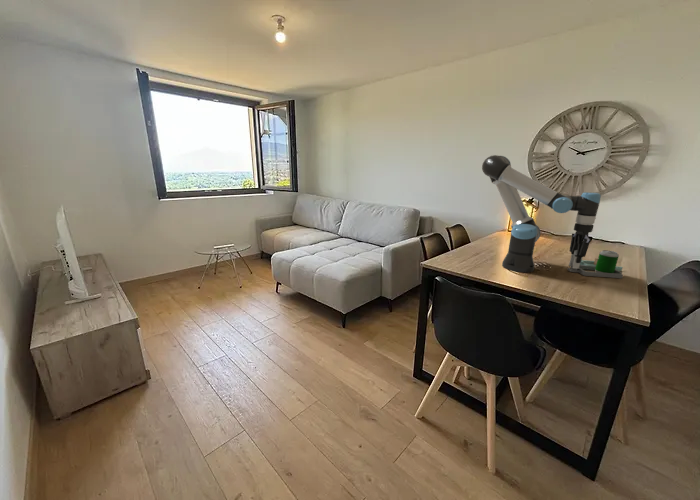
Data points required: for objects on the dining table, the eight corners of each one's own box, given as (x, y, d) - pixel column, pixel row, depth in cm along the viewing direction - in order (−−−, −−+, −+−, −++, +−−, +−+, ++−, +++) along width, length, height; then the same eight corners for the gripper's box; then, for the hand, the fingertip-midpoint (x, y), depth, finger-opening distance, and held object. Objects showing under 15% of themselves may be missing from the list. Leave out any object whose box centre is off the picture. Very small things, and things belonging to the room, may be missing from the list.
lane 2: (577, 267, 159) (582, 248, 156) (569, 262, 168) (573, 244, 165) (621, 270, 155) (627, 250, 152) (610, 265, 164) (616, 246, 161)
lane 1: (574, 274, 148) (579, 253, 145) (563, 267, 160) (567, 247, 157) (622, 278, 144) (628, 257, 141) (606, 270, 156) (612, 250, 152)
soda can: (616, 277, 147) (623, 254, 143) (600, 275, 148) (606, 253, 145) (607, 271, 154) (613, 250, 150) (591, 270, 155) (596, 249, 152)
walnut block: (599, 268, 159) (601, 261, 158) (593, 266, 163) (595, 258, 162) (607, 269, 159) (610, 261, 158) (601, 266, 163) (603, 258, 162)
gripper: (602, 226, 138) (590, 272, 145) (583, 221, 153) (573, 263, 160) (584, 226, 140) (573, 271, 146) (568, 220, 155) (558, 261, 161)
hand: (573, 267), depth 153 cm, fingers closed on lane 1, 3 cm apart
